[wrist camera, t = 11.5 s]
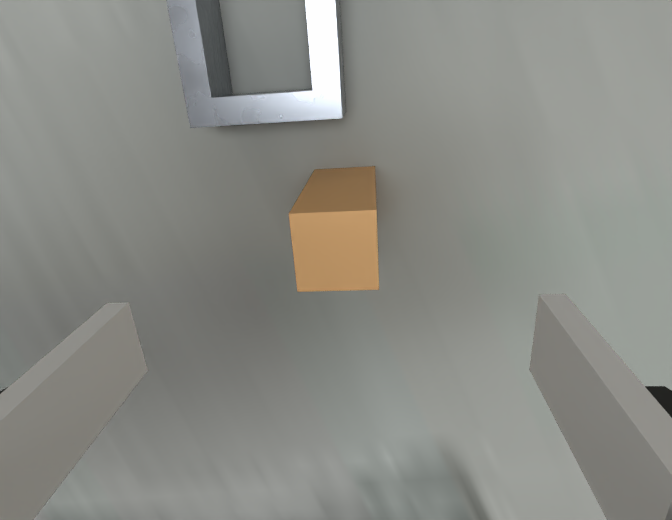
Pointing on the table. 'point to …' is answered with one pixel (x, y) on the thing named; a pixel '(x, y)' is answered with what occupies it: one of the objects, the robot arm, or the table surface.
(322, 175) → the tan rectangular block
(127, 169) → the table surface
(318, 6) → the grey rectangular frame
